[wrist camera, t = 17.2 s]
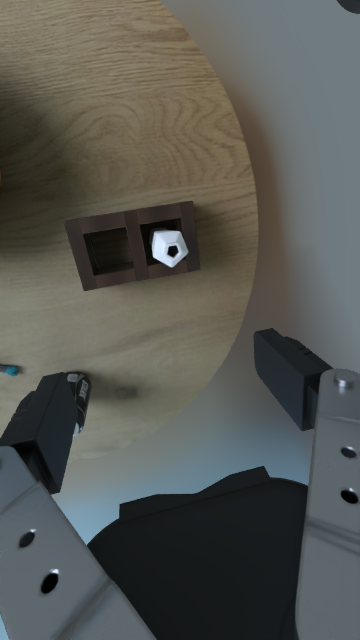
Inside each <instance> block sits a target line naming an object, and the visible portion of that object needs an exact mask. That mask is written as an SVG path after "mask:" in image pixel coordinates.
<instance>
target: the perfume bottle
mask: <svg viewBox="0 0 360 640" xmlns="http://www.w3.org/2000/svg"><path fill="white" fill-rule="evenodd" d="M149 244H150V245H151V246H152V252H153V257H154V258H155V259H157V260H159V261H161V262H163V263H164V264H166V265H168V266H170V267H174V266H175V265H176V264H177V263H178V262H179V261H180V260H181V259H182V258H183V257H184V256H186V255H187V254H188V249H187V247H186V244H185V242H184V239H183V237H182V234H181V232H180V231H169V230H167V228H166V227H163V228H153V229H151V233H150V238H149Z"/></svg>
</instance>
